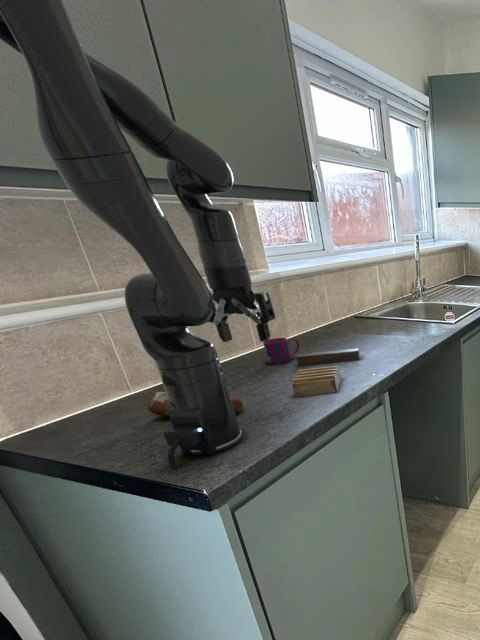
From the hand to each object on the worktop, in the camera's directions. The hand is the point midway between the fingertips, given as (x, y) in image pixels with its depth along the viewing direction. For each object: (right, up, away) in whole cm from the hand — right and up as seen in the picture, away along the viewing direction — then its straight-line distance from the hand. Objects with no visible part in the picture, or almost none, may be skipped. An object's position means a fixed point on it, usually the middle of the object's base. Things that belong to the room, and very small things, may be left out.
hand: (246, 340), depth 90 cm
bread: (-15, -16, +7) cm, 23 cm away
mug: (-16, -2, +44) cm, 47 cm away
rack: (+7, -10, +20) cm, 24 cm away
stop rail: (0, -2, +41) cm, 41 cm away
